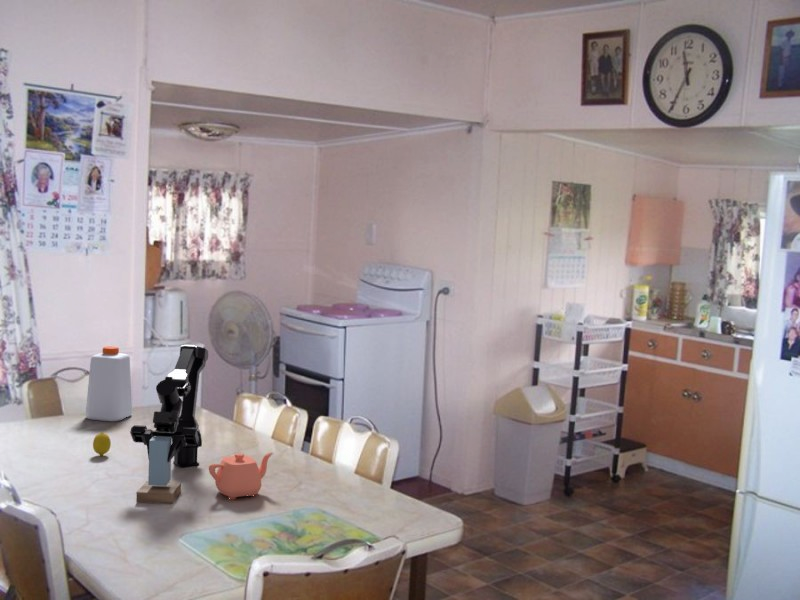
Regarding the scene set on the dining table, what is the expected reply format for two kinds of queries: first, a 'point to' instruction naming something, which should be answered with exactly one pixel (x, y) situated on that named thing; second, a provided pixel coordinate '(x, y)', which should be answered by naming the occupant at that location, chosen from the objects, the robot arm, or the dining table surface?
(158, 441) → the blue block
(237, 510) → the dining table surface
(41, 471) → the dining table surface
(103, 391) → the plastic bottle
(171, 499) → the walnut base
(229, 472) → the teapot
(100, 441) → the lemon
